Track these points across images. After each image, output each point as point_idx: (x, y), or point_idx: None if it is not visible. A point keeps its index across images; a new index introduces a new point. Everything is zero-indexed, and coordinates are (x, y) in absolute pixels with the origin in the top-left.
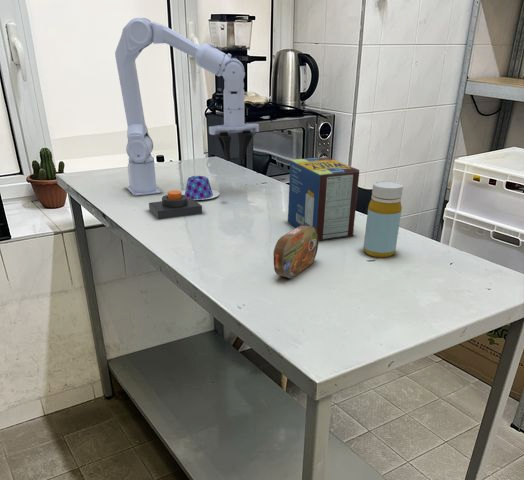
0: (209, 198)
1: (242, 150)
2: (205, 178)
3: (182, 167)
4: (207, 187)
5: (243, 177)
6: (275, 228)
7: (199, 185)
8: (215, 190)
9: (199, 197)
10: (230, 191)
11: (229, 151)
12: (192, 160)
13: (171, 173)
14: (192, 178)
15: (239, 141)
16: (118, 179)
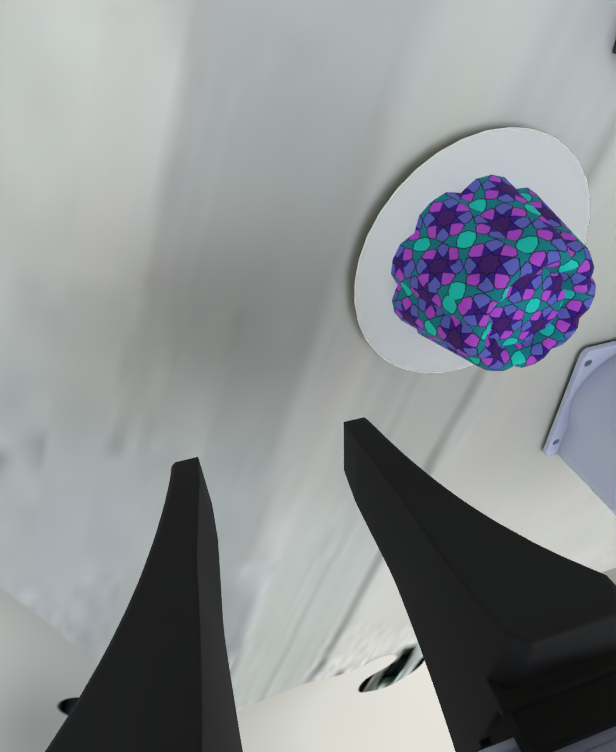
0: (476, 134)
1: (204, 544)
2: (505, 291)
3: (331, 635)
4: (480, 231)
5: (108, 556)
6: None
7: (551, 225)
8: (359, 314)
9: (511, 186)
10: (252, 328)
11: (392, 480)
12: (268, 694)
13: None
14: (546, 334)
15: (229, 685)
16: (576, 518)
